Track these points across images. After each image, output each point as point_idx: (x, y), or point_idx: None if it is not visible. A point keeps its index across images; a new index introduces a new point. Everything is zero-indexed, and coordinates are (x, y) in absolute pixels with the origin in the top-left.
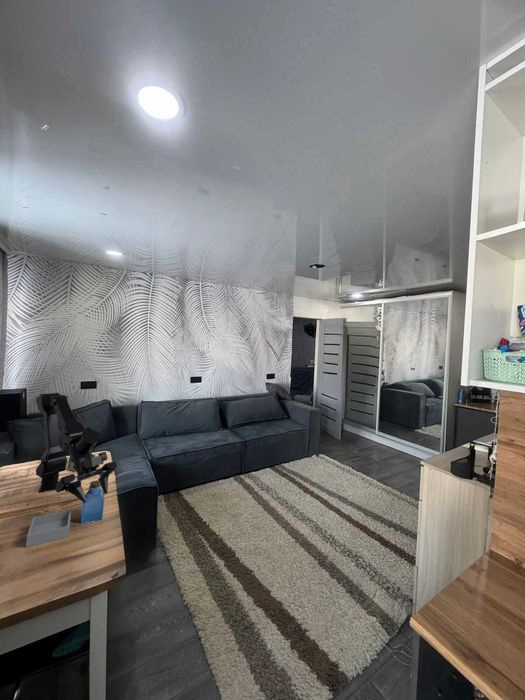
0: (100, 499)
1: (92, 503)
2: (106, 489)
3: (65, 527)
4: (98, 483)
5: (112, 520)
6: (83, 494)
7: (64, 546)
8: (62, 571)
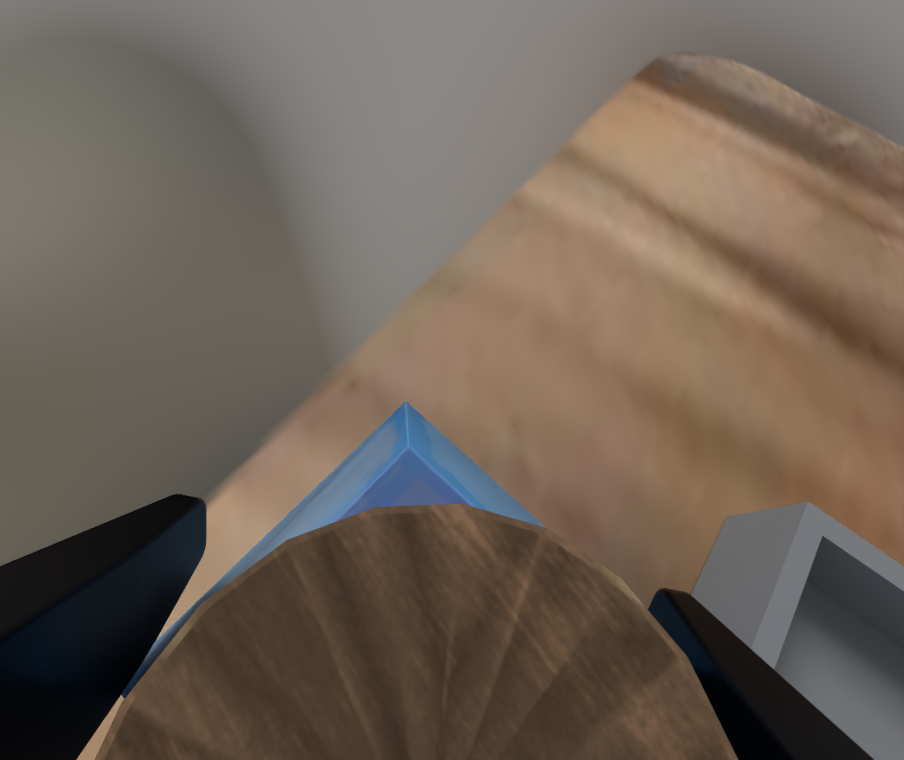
0: (430, 438)
1: (535, 521)
2: (136, 531)
3: (841, 527)
4: (409, 526)
5: (370, 371)
6: (811, 740)
7: (789, 434)
8: (862, 250)
